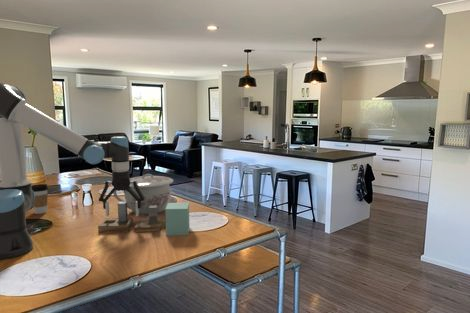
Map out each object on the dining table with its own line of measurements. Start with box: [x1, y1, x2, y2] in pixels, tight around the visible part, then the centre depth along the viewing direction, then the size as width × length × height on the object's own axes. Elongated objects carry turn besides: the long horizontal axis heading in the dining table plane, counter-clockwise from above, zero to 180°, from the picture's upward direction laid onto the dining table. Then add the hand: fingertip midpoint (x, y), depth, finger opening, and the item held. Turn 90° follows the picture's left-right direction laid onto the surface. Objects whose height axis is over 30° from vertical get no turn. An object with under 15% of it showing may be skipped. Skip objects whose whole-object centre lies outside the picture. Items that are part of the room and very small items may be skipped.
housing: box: [164, 202, 190, 236], centre depth 152 cm, size 10×10×12 cm
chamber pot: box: [112, 173, 174, 216], centre depth 182 cm, size 28×28×21 cm
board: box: [134, 206, 164, 233], centre depth 157 cm, size 11×11×10 cm
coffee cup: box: [31, 183, 49, 215], centre depth 179 cm, size 8×8×15 cm
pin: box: [117, 200, 129, 223], centre depth 156 cm, size 3×3×12 cm
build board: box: [97, 217, 134, 233], centre depth 157 cm, size 11×13×3 cm
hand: (122, 215), depth 156 cm, fingers open, 13 cm apart
